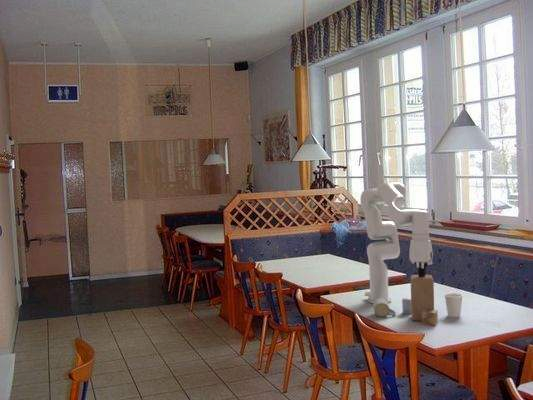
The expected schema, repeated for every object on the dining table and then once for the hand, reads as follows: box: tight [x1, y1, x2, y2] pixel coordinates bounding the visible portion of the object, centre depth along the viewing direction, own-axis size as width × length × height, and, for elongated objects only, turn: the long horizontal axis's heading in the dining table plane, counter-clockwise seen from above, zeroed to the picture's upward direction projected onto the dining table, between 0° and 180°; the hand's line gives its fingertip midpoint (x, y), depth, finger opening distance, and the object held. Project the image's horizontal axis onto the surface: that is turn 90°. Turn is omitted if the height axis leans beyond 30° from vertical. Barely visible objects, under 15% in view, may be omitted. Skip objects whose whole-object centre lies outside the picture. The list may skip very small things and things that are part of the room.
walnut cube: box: [421, 309, 439, 327], centre depth 272 cm, size 6×6×6 cm
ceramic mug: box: [372, 298, 397, 318], centre depth 290 cm, size 11×8×8 cm
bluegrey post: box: [401, 297, 412, 316], centre depth 292 cm, size 5×5×7 cm
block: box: [410, 274, 435, 322], centre depth 281 cm, size 10×10×20 cm
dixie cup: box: [444, 292, 463, 318], centre depth 284 cm, size 8×8×10 cm
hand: (421, 276), depth 280 cm, fingers closed
